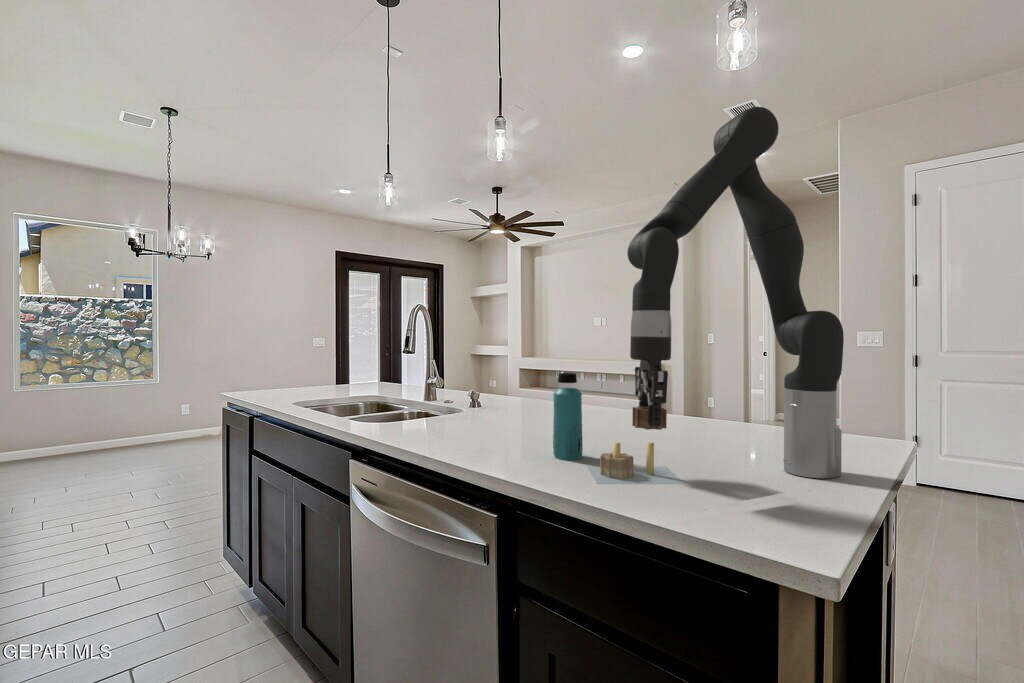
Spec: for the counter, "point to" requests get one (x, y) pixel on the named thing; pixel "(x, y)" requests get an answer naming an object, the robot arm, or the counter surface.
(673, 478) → the gear board
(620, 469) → the beech gear
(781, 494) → the counter surface
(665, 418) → the walnut gear
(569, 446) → the beverage bottle
